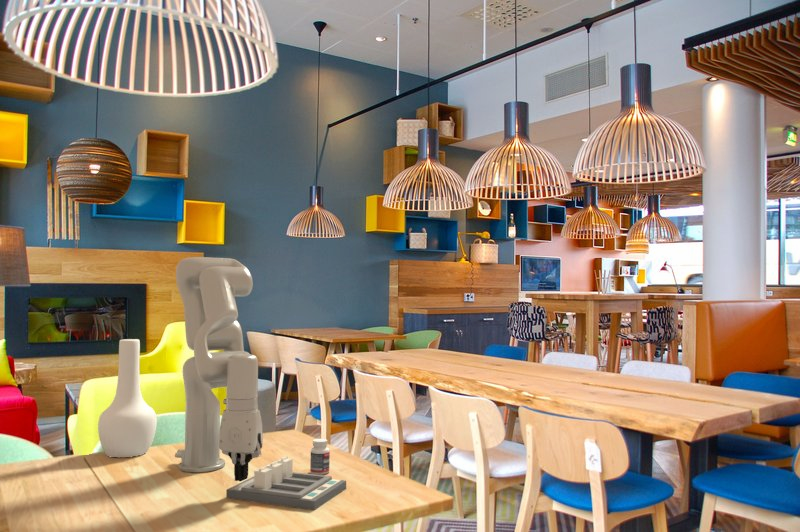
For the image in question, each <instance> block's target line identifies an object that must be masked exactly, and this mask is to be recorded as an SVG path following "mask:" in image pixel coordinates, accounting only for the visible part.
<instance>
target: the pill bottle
mask: <svg viewBox="0 0 800 532" xmlns="http://www.w3.org/2000/svg"><path fill="white" fill-rule="evenodd" d="M312 446H313V447H312V448H311V449H310V466H309V467H310V469H309V471H310V474H315V475H324V476H325V475H327V474H328V473H330V452H331V451H330V448H329V447H327V446H328V439H326V438H315V439H313V440H312Z"/></svg>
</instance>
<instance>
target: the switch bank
mask: <svg viewBox="0 0 800 532" xmlns="http://www.w3.org/2000/svg"><path fill="white" fill-rule="evenodd" d="M345 490H347V480H343V479H335V478H333V477H332V476H330V475H325V474H324V475H315V474H312V473H306V472H297V471H296V472H295V471H292V477H290V478H286V477H282V482H281V483H272V488H270V489H261V488H254V476H252V477H250V478H247V479H245V480H243V481H240V483H238V484H235V485H233V486H231V487H229V488H227V489H226V491H225V492H226V493H225V496H226V499H233V500H237V501H245V502H253V503H261V504H267V505H275V506H282V507H289V508H296V509H304V510H310V511H316V510H317V509H318V508H320V507H321V506H323V505H324V504H326V503H327V502H329V501H331V499H333V498H335V497H336V496H338V495H339V494H340V493H342V492H343V491H345Z"/></svg>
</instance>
